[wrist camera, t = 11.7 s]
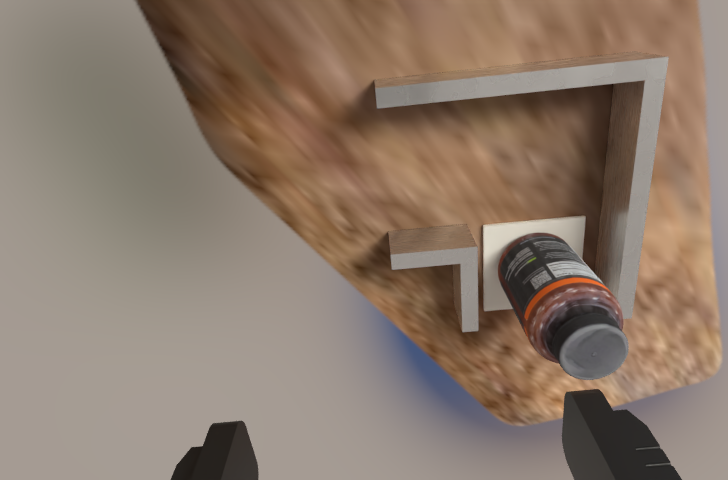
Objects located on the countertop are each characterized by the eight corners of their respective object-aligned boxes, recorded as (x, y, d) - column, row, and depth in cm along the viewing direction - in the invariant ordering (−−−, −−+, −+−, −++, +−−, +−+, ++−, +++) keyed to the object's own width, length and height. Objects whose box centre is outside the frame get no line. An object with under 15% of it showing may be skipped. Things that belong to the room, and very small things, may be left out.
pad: (482, 224, 38) (483, 226, 38) (584, 215, 38) (585, 216, 37) (483, 309, 41) (484, 311, 41) (576, 301, 41) (578, 303, 41)
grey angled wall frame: (374, 79, 34) (375, 88, 30) (635, 51, 33) (668, 56, 29) (395, 308, 41) (398, 337, 38) (607, 290, 40) (631, 318, 37)
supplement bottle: (549, 305, 41) (611, 406, 30) (483, 284, 40) (523, 380, 30) (587, 242, 38) (668, 329, 28) (517, 218, 37) (573, 298, 27)
